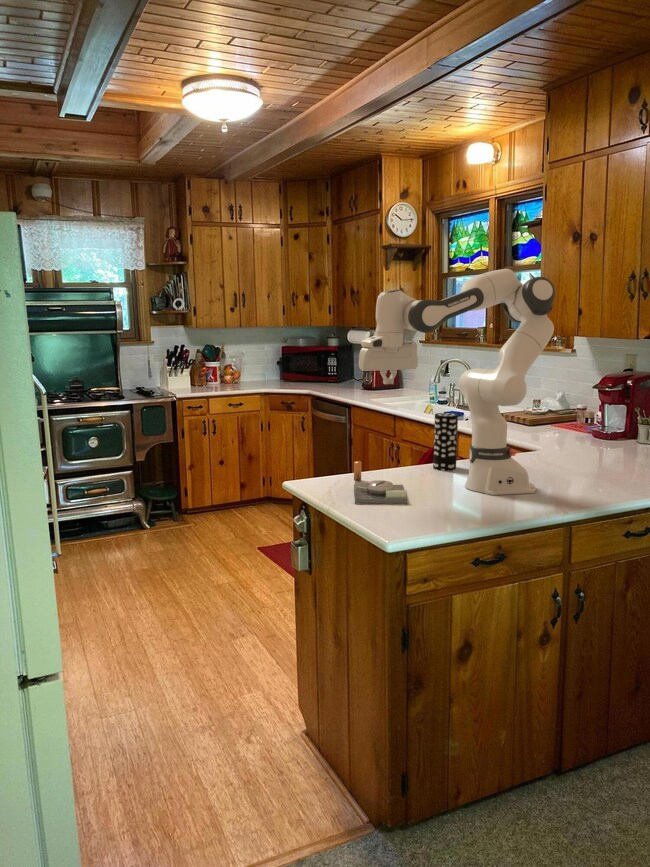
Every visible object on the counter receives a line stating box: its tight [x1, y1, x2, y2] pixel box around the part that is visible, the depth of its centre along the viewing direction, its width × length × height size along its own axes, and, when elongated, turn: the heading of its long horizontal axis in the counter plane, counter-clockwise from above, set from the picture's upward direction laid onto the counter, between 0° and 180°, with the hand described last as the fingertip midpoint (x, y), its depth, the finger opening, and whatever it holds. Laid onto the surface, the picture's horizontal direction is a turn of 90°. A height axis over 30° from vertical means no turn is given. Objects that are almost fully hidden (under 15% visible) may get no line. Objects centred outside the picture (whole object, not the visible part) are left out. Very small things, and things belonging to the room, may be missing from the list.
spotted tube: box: [432, 412, 459, 472], centre depth 256 cm, size 8×8×20 cm
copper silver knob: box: [353, 460, 394, 495], centre depth 221 cm, size 8×13×8 cm, turn 59°
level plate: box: [353, 483, 409, 505], centre depth 220 cm, size 16×17×3 cm
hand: (388, 383), depth 227 cm, fingers closed
